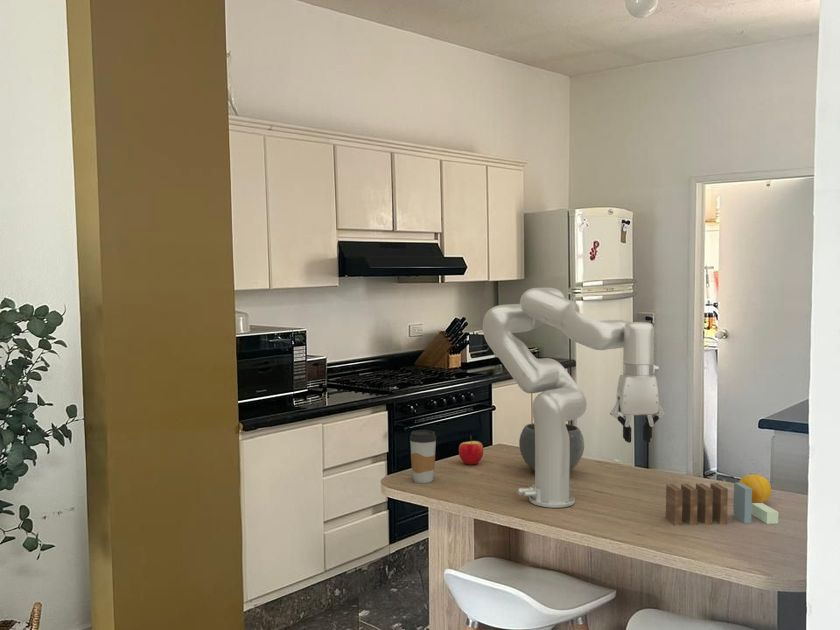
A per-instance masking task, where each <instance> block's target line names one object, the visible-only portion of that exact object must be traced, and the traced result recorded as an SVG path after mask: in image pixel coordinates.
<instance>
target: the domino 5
mask: <svg viewBox="0 0 840 630" xmlns="http://www.w3.org/2000/svg"><path fill="white" fill-rule="evenodd" d="M751 510H752V488H750V487H748V486H746V485H744V484H743V483H741V482H740V483H739V482H734V483H733V517H734V518H736V519H737V520H739V521H740V522H742V523H743V524H752V514H751Z"/></svg>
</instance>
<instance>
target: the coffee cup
mask: <svg viewBox="0 0 840 630" xmlns="http://www.w3.org/2000/svg"><path fill="white" fill-rule="evenodd" d="M436 441H437V435H436V432H435V431H432V430H428V429H427V430H426V429H423V430H422V429H419V430H413V431H411V434H410V435H409V443H410V461H411V473H412V480H413V482H415V483H418V484H428V483H432V482H433V480H434V475H435V474H434V473H435V464H436V446H437V445H436V443H437V442H436Z"/></svg>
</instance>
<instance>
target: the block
mask: <svg viewBox="0 0 840 630" xmlns="http://www.w3.org/2000/svg"><path fill="white" fill-rule="evenodd" d="M751 516H753V517H755V518H756V517H757V519H758V520H760V521H761V522H763V523H765V524H766V525H770V524H771V525H772V524H773V525H775V524H776V525H777V524H779V511H777V510H775V509H774V508H772V507H770V506H769V505H766V504H765V503H752V510H751Z"/></svg>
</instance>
